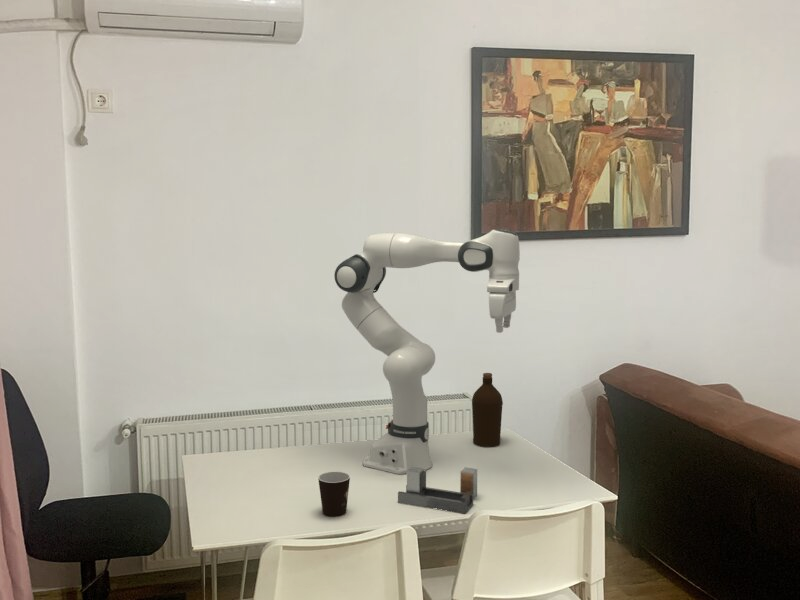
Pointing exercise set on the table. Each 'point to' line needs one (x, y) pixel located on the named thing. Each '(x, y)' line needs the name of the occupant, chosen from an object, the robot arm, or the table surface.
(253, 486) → the table surface
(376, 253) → the robot arm
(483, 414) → the olive oil
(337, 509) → the coffee mug
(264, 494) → the table surface
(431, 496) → the rail
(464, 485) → the finger
